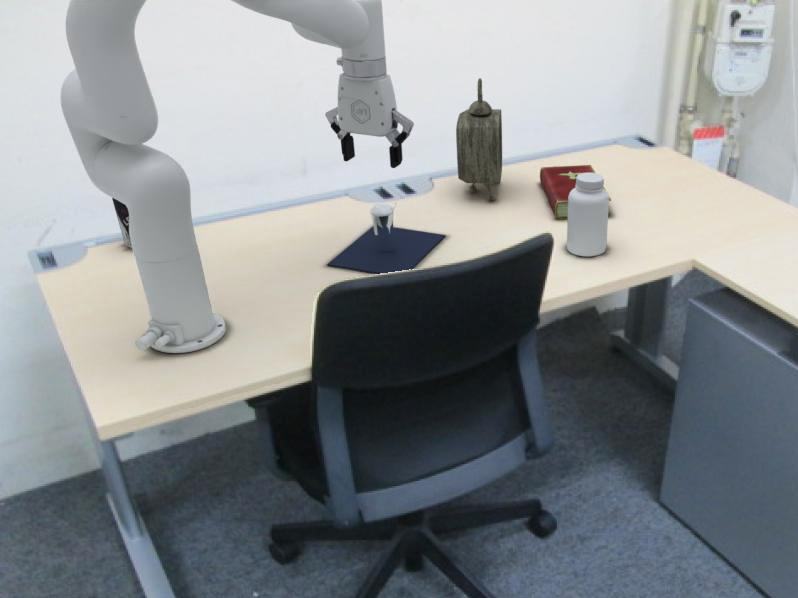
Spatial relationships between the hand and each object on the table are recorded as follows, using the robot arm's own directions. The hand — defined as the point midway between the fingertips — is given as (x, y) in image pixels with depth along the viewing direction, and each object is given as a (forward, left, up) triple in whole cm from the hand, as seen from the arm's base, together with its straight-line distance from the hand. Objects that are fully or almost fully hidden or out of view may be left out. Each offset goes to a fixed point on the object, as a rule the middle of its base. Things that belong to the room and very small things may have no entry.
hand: (372, 162), depth 168 cm
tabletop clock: (+36, -7, -19) cm, 41 cm away
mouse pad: (+1, -1, -18) cm, 18 cm away
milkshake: (+1, -1, -18) cm, 18 cm away
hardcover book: (+39, -28, -19) cm, 52 cm away
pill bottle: (+15, -38, -19) cm, 45 cm away
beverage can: (-13, +47, -19) cm, 52 cm away
